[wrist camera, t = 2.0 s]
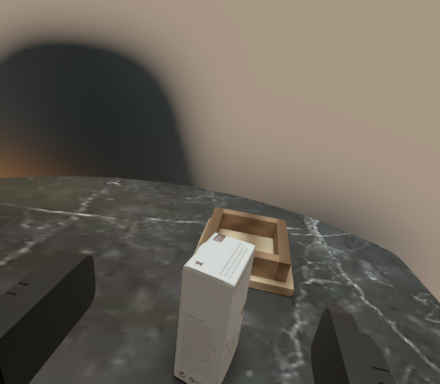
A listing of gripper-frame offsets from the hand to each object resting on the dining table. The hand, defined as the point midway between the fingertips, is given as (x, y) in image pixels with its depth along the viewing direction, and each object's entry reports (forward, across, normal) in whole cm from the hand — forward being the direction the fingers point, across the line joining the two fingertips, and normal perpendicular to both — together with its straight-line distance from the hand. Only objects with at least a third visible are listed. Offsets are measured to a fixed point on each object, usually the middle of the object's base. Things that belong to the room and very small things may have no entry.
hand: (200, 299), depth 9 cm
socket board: (+29, -2, +18) cm, 34 cm away
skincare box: (+11, 0, +18) cm, 21 cm away
